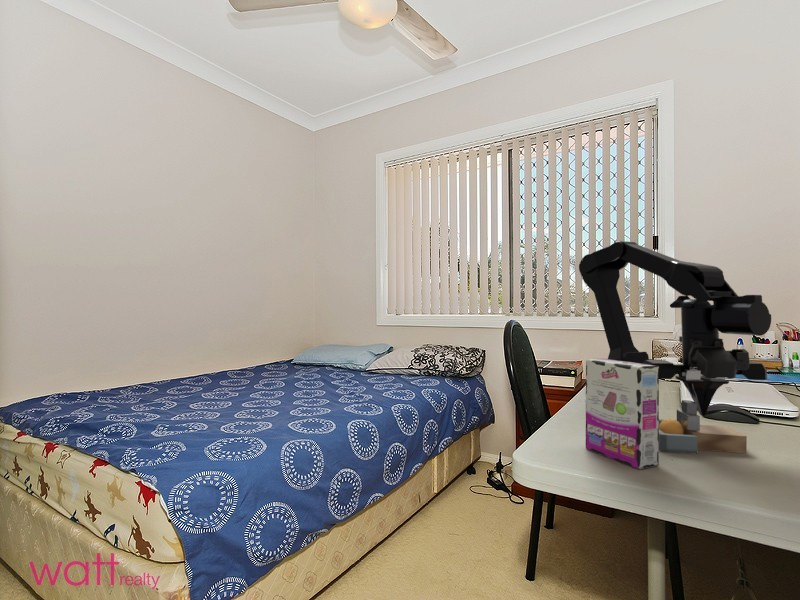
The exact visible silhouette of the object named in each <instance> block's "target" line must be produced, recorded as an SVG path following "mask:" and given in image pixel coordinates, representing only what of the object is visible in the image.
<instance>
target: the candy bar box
mask: <svg viewBox="0 0 800 600" xmlns="http://www.w3.org/2000/svg"><path fill="white" fill-rule="evenodd" d="M659 386H660V379H659V366H653V365H646V364H640V363H632V362H624V361H617V360H610V359H608V358H592V359H591V358H590V359H586V360H585V449H586V450H589V451H591V452H594V453H596V454H599V455H602V456H603V457H606V458H608V459H611V460H614V461H615V462H618V463H620V464H621V463H622V464H623V465H624V464H625V465H627V466H629V467H632V468H635V469H637V470H642V469H648V468H654V467H657V466H659V462H660V459H659V458H660V455H659V452H660V451H659V417H660V416H659V414H660V411H659V410H660V408H659V407H660V406H659V405H660V404H659V403H660V400H659V399H660V398H659V397H660V391H659V389H660V387H659Z"/></svg>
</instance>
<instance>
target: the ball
mask: <svg viewBox="0 0 800 600" xmlns="http://www.w3.org/2000/svg"><path fill="white" fill-rule="evenodd" d="M662 420H663V421H662V422H661V423H660V425H659V430H661V431H662V432H663V433H667V434H684V429H683V427H682V425H681V424H680V423H679V422H678V421H677V419H676V420H675V419H674V418H673V419H672V418H666V419H662Z"/></svg>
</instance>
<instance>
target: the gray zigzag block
mask: <svg viewBox="0 0 800 600" xmlns="http://www.w3.org/2000/svg"><path fill="white" fill-rule="evenodd" d="M676 421H678V422H679V423H680V424H681V425H682V427H684V428H685V429H687V430H696V431H700V425H701V424H700V422H701V415H698V409H697V403H695V402H694V401H693V400H689V399H688V400H686V399H681V409H676Z"/></svg>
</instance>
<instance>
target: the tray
mask: <svg viewBox="0 0 800 600" xmlns="http://www.w3.org/2000/svg"><path fill="white" fill-rule="evenodd" d="M663 420H664V419H662V418H661V419H659V425H660V423H661V422H662V421H663ZM659 452H664V453H665V452H666V453H677V454H693V455H697V454H698V450H697V436H695V435H683V434H667V433H663V432H662V431H661V430H659Z"/></svg>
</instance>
